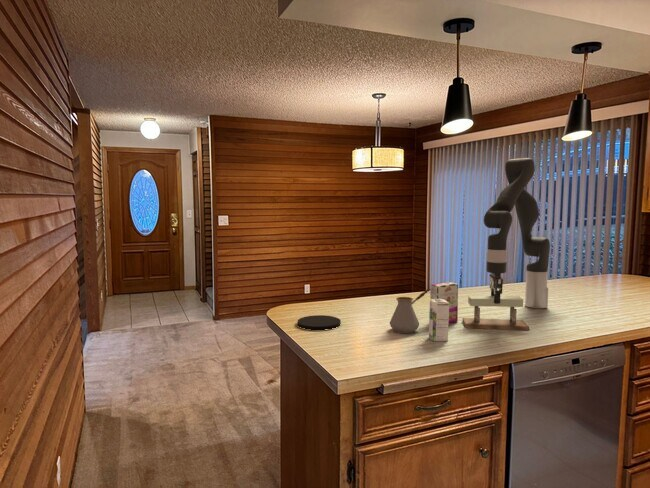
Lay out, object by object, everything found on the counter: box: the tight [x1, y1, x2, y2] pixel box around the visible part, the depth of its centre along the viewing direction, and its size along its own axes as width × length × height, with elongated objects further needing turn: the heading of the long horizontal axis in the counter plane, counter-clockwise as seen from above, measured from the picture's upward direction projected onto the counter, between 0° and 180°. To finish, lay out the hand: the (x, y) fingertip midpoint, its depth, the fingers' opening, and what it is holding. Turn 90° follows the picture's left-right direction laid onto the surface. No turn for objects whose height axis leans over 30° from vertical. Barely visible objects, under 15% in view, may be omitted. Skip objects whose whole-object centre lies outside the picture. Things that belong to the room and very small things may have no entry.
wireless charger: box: [297, 314, 342, 331], centre depth 188 cm, size 18×18×2 cm
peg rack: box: [462, 306, 530, 331], centre depth 185 cm, size 24×10×8 cm, turn 80°
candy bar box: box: [429, 281, 459, 324], centre depth 190 cm, size 11×5×16 cm, turn 117°
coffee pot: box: [389, 288, 432, 334], centre depth 181 cm, size 21×12×15 cm, turn 128°
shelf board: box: [467, 295, 524, 308], centre depth 184 cm, size 20×6×3 cm, turn 82°
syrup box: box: [428, 299, 450, 342], centre depth 167 cm, size 6×6×14 cm
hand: (495, 301), depth 184 cm, fingers closed on shelf board, 6 cm apart
